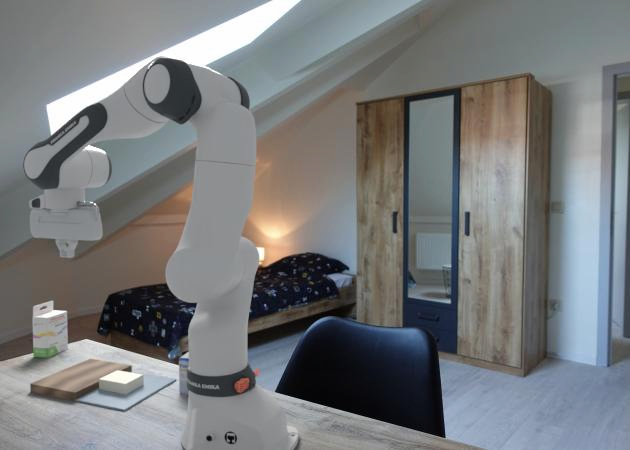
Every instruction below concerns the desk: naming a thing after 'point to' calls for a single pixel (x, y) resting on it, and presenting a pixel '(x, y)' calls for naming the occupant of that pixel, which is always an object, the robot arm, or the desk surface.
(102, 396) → the mat
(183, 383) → the medicine box
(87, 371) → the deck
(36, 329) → the ink box
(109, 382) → the tile
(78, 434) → the desk surface
